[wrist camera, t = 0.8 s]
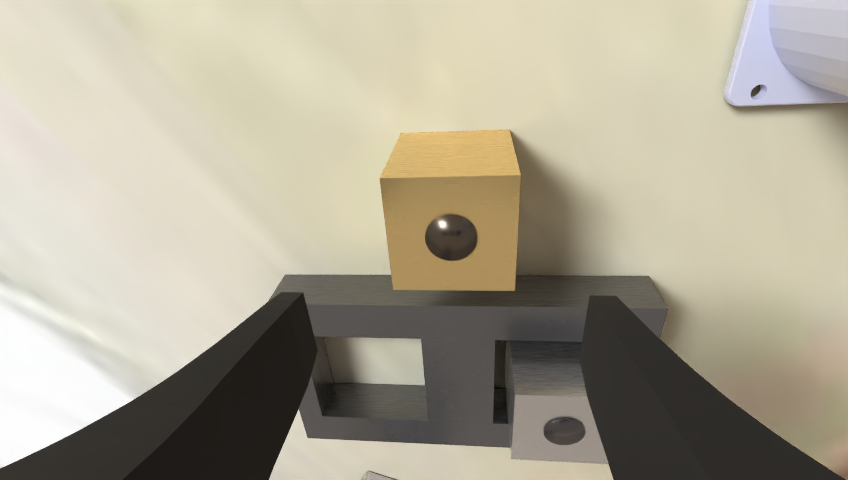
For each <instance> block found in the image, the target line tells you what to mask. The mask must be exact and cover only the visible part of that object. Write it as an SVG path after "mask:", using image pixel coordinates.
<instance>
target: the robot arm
mask: <svg viewBox="0 0 848 480" xmlns="http://www.w3.org/2000/svg"><path fill="white" fill-rule="evenodd" d="M757 85H761V90H760V91H759V93H758V94H757V95H756V96H753V97H751V91H752V89H753V88H754V87H756V86H757ZM724 98H725V100H726V101H727V102H728V103H729V104H731V105H734V106H764V105H791V104H818V103H845V102H848V0H749V3H748V6H747V10H746V14H745V17H744V21H743V25H742V28H741V32H740V36H739V39H738V43H737V47H736V50H735V54H734V58H733V61H732V65H731V69H730V72H729V76H728V79H727V83H726V87H725V90H724ZM317 351H318V349H317V345H316V341H315V337H314V333H313V329H312V325H311V321H310V317H309V313H308V309H307V305H306V301H305V297H304V293H303V292H281V293H279V294H278V295H276V296H275V297H274V298H272V299H271V300H270V301H269V302H267V303H266V304H265V305H264V306H262V307H261V308H260V309H259V310H257V311H256V312H255V313H254V314H252V315H251V316H250V317H249V318H247V319H246V320H245V321H244V322H242V323H241V324H240V325H239V326H237V327H236V328H235V329H234V330H232V331H231V332H230V333H229V334H227V335H226V336H225V337H224V338H222V339H221V340H220V341H218V342H217V343H216V344H215V345H213V346H212V347H210V348H209V349H208V350H206V351H205V352H204V353H202V354H201V355H199V356H198V357H197V358H195V359H194V360H193V361H191V362H190V363H189V364H187V365H186V366H184V367H183V368H182V369H180V370H179V371H178V372H176V373H175V374H173V375H172V376H170V377H169V378H167V379H166V380H164V381H163V382H161V383H160V384H158V385H157V386H155V387H153V388H152V389H150V390H149V391H147V392H145V393H144V394H142V395H141V396H139V397H137V398H136V399H134V400H133V401H131V402H129V403H127V404H126V405H124V406H122V407H120V408H119V409H117V410H115V411H113V412H111V413H110V414H108V415H106V416H104V417H102V418H101V419H99V420H97V421H95V422H93V423H92V424H90V425H88V426H86V427H84V428H83V429H81V430H79V431H77V432H75V433H73V434H71V435H69V436H67V437H65V438H63V439H62V440H60V441H58V442H56V443H54V444H52V445H50V446H48V447H46V448H43V449H41V450H39V451H37V452H35V453H33V454H31V455H29V456H27V457H24V458H22V459H20V460H18V461H16V462H14V463H12V464H9V465H7V466H5V467H3V468H1V469H0V480H269V478H270V475H271V472H272V470H273V467H274V465H275V463H276V460H277V458H278V456H279V453H280V451H281V449H282V446H283V444H284V442H285V439H286V437H287V435H288V432H289V430H290V428H291V425H292V423H293V421H294V418H295V416H296V414H297V411H298V409H299V406H300V404H301V402H302V399H303V397H304V394H305V392H306V389H307V387H308V384H309V381H310V377H311V374H312V370H313V367H314V363H315V359H316V355H317ZM580 363H581V368H582V374H583V379H584V384H585V389H586V394H587V398H588V401H589V404H590V408H591V411H592V414H593V417H594V420H595V423H596V426H597V430H598V433H599V436H600V439H601V442H602V445H603V448H604V451H605V454H606V457H607V460H608V463H609V466H610V470H611V473H612V476H613V479H614V480H845V479H844V478H842V477H841V476H839V475H837V474H836V473H834V472H833V471H831V470H829V469H828V468H826V467H825V466H823V465H822V464H820V463H819V462H817V461H816V460H814V459H813V458H811V457H809V456H808V455H806V454H805V453H803V452H802V451H800V450H799V449H797V448H796V447H794V446H793V445H791V444H790V443H788V442H787V441H785V440H784V439H782V438H781V437H780V436H778V435H777V434H775V433H774V432H772V431H771V430H770V429H768V428H767V427H766V426H764V425H763V424H761V423H760V422H759V421H757V420H756V419H755V418H753V417H752V416H751V415H749V414H748V413H747V412H745V411H744V410H742V409H741V408H740V407H738V406H737V405H736V404H735V403H733V402H732V401H731V400H729V399H728V398H727V397H726V396H724V395H723V394H722V393H721V392H719V391H718V390H717V389H716V388H715V387H713V386H712V385H711V384H710V383H709V382H707V381H706V380H705V379H704V378H703V377H701V376H700V375H699V374H698V373H697V372H695V371H694V370H693V369H692V368H691V367H690V366H689V365H688V364H686V363H685V362H684V361H683V360H682V359H681V358H680V357H679V356H678V355H676V354H675V353H674V352H673V351H672V350H671V349H670V348H669V347H668V346H667V345H666V344H665V343H664V342H662V341H661V340H660V339H659V338H658V337H657V336H656V335H655V334H654V333H653V332H652V331H651V330H650V329H649V328H648V327H647V326H646V325H645V324H644V323H643V322H642V321H641V320H640V319H639V318H638V317H637V316H636V315H635V314H634V313H633V312H632V311H631V310H630V309H629V308H628V307H627V306H626V305H625V304H624V303H623V302H622V301H621V300H620V299H619V298H618V297H617V296H603V295H590V296H589V302H588V308H587V314H586V321H585V327H584V333H583V339H582V345H581V351H580Z"/></svg>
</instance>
